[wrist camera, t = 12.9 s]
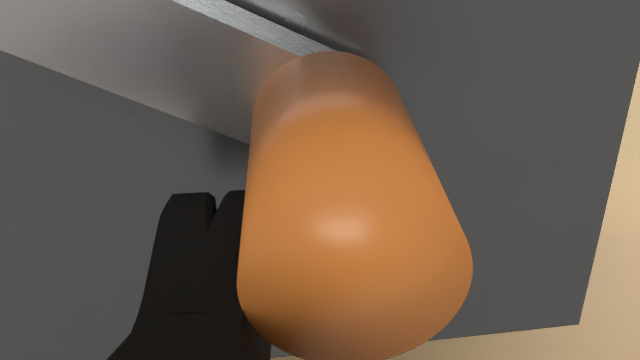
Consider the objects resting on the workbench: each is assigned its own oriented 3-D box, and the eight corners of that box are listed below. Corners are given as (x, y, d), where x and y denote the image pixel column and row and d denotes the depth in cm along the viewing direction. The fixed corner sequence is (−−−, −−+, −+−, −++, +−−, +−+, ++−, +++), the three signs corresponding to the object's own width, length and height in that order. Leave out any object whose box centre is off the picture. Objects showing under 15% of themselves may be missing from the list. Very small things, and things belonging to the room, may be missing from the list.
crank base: (-71, 361, 16) (-100, 404, 14) (-645, -468, 7) (-828, -527, 6) (559, 292, 16) (582, 330, 15) (735, -603, 7) (825, -689, 6)
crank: (-371, -73, 8) (-1100, 28, 4) (-413, -366, 7) (-1743, -755, 2) (342, 191, 12) (380, 407, 7) (431, 39, 10) (549, 198, 6)
